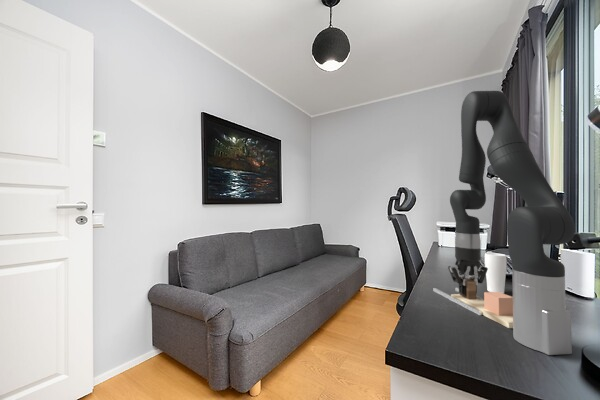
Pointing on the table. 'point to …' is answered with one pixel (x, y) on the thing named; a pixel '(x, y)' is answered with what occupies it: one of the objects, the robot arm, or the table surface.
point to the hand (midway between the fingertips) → (467, 295)
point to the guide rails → (458, 301)
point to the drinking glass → (495, 272)
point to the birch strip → (482, 304)
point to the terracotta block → (498, 303)
